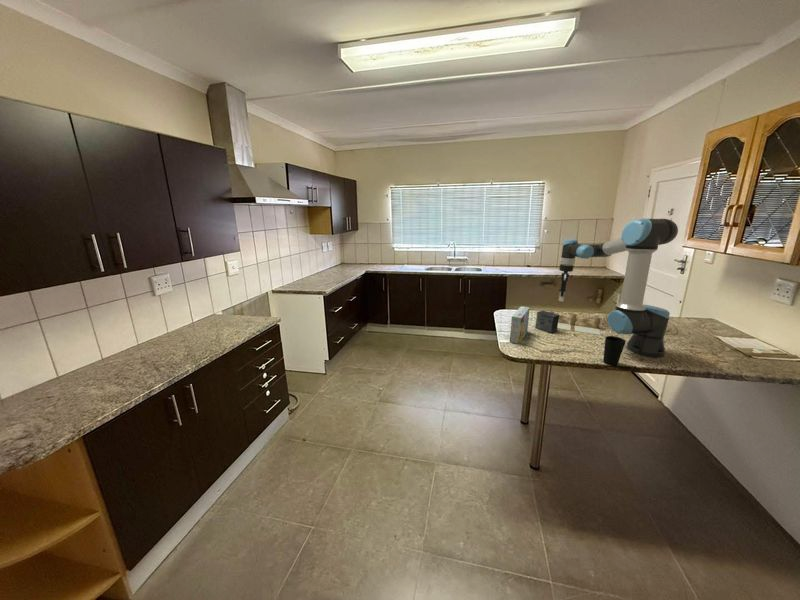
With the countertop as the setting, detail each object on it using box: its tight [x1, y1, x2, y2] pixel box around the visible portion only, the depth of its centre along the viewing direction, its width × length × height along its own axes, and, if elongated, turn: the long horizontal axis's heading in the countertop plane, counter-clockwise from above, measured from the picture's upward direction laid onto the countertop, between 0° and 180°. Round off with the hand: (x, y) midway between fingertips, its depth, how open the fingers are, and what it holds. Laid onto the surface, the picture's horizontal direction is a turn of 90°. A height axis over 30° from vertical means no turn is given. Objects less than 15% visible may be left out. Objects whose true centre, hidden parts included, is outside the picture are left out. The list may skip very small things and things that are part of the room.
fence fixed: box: [569, 313, 602, 330], centre depth 187 cm, size 15×3×7 cm, turn 62°
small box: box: [534, 310, 560, 334], centre depth 181 cm, size 11×6×10 cm, turn 34°
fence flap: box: [548, 310, 571, 324], centre depth 193 cm, size 12×3×6 cm, turn 62°
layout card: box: [557, 321, 601, 336], centre depth 188 cm, size 28×16×1 cm, turn 62°
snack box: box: [509, 306, 531, 345], centre depth 170 cm, size 21×6×15 cm, turn 147°
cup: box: [602, 335, 626, 367], centre depth 141 cm, size 8×8×12 cm
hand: (560, 300), depth 197 cm, fingers closed
